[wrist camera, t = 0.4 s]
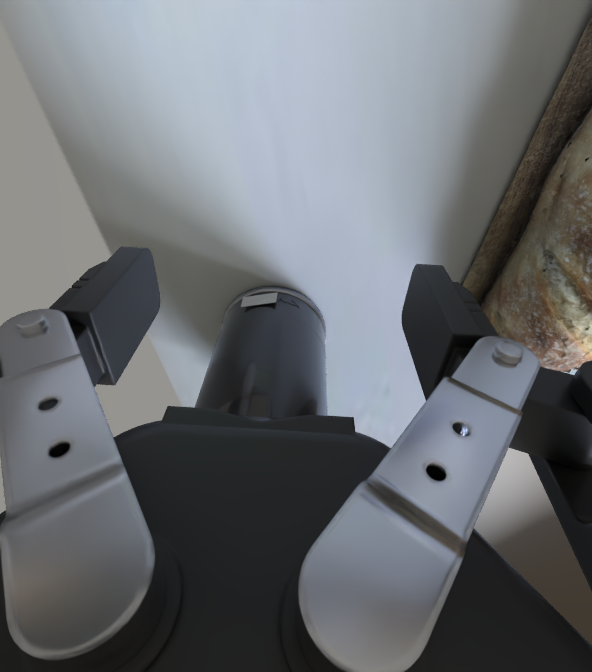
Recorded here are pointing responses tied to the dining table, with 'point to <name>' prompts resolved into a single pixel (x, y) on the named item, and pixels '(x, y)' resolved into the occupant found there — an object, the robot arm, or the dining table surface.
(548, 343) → the bread loaf
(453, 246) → the dining table surface
